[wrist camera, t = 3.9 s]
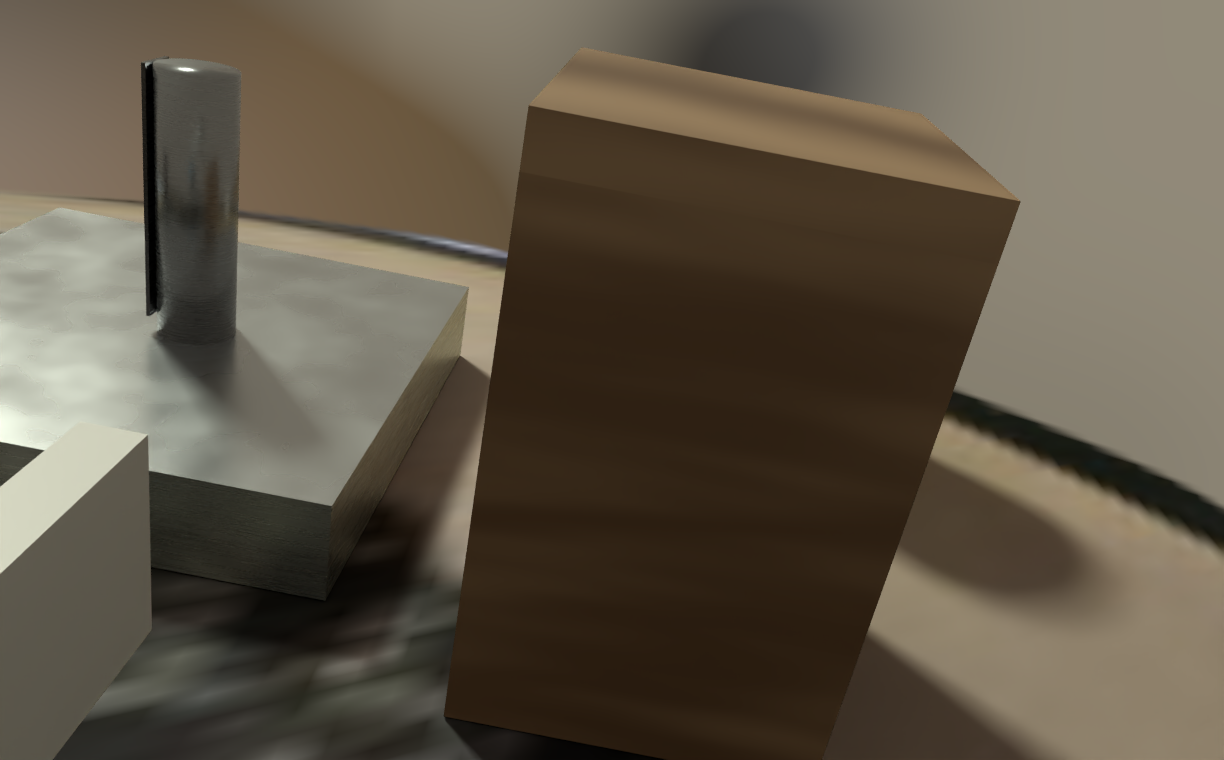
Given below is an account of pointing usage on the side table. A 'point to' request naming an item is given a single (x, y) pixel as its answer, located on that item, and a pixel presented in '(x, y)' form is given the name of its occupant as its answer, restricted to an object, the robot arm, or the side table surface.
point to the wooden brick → (709, 405)
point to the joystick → (220, 355)
